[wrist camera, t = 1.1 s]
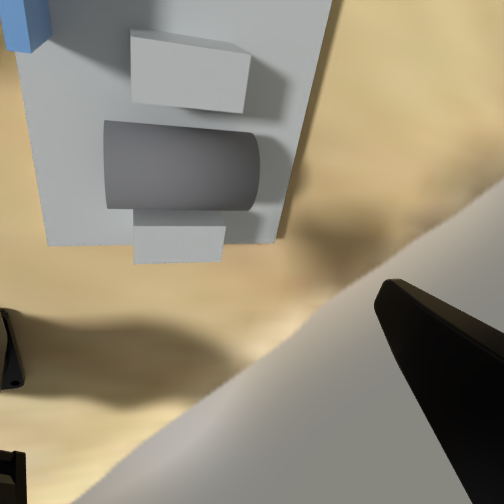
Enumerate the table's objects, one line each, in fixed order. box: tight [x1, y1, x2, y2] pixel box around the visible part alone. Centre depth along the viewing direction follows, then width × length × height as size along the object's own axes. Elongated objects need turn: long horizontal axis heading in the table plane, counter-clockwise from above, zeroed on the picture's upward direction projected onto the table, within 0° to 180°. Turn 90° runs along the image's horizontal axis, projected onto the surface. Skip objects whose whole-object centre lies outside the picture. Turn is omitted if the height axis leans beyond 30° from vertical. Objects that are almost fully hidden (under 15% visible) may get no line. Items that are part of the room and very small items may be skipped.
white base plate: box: [0, 0, 332, 264], centre depth 14 cm, size 18×12×5 cm, turn 170°
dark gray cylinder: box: [103, 120, 260, 211], centre depth 16 cm, size 6×4×4 cm, turn 80°
